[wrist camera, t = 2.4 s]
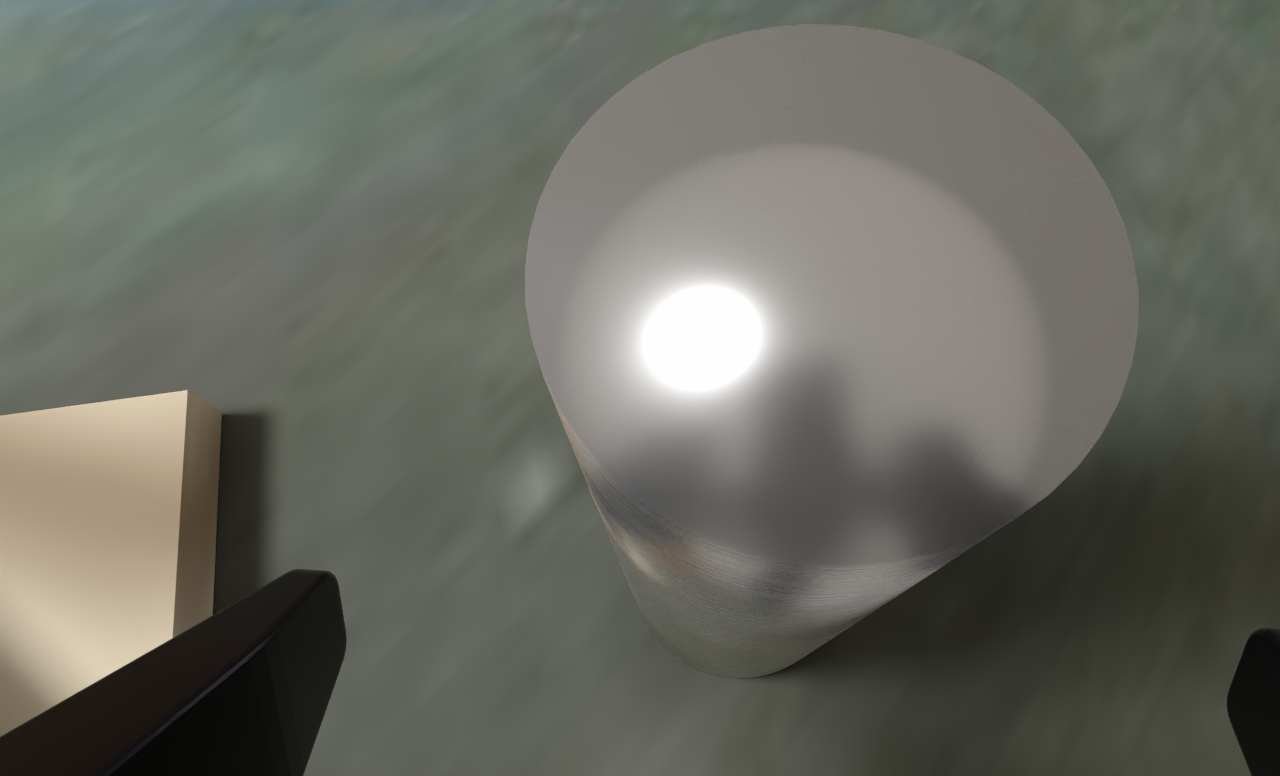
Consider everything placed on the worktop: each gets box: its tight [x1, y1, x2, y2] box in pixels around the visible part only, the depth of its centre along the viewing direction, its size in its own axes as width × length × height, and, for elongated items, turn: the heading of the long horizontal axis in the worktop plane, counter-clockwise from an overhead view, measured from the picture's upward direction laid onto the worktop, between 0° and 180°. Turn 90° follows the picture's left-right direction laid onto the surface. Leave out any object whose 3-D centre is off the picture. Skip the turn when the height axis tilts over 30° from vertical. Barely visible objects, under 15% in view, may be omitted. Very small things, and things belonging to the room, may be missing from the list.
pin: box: [525, 24, 1138, 679], centre depth 13 cm, size 4×4×13 cm
